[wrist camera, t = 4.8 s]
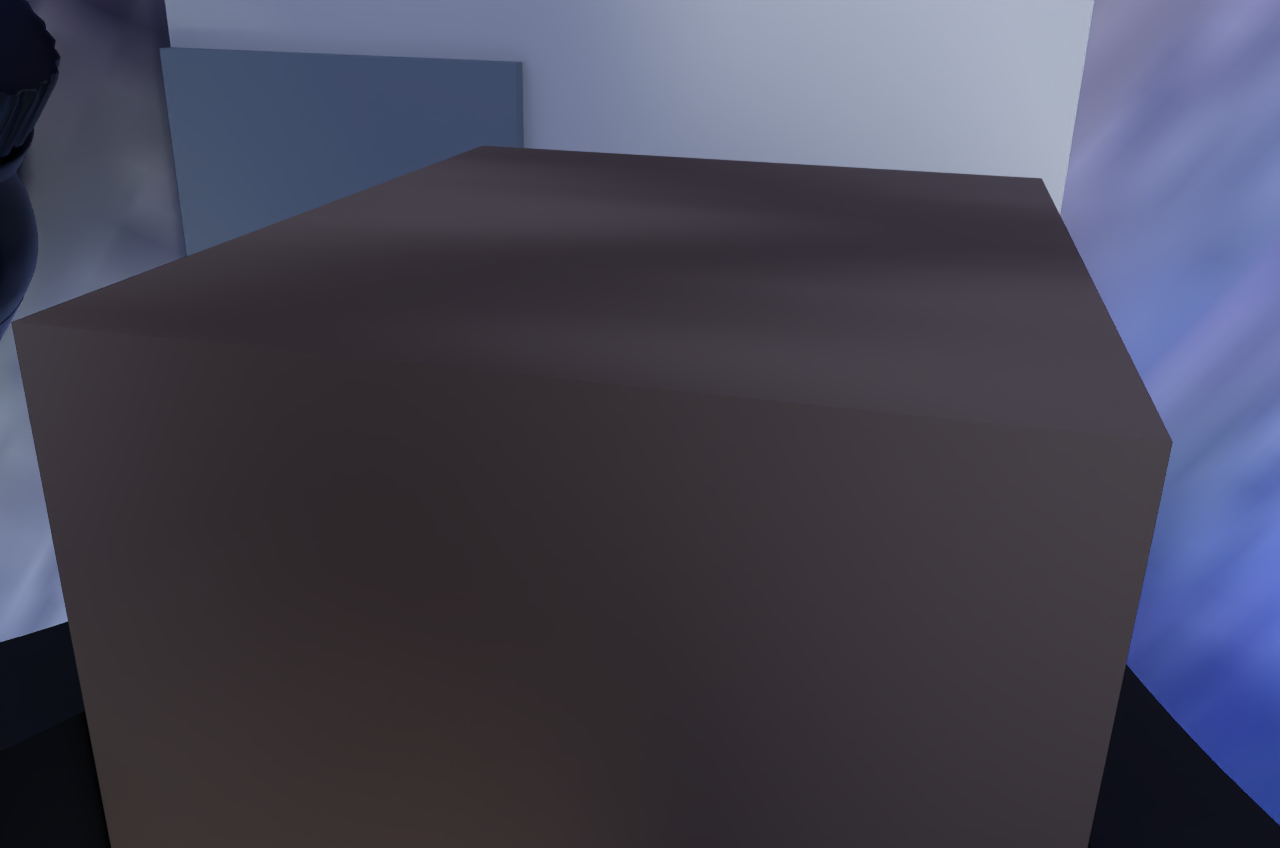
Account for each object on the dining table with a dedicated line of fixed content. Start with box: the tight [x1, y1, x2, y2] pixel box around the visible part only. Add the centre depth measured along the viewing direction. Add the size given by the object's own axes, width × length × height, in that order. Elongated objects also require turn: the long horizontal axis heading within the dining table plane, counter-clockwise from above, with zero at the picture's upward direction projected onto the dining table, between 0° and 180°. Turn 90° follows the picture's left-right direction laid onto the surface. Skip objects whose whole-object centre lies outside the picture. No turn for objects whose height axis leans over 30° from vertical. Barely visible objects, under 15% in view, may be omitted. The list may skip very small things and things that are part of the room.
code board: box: [165, 0, 1094, 214], centre depth 19 cm, size 14×11×1 cm
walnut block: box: [11, 146, 1172, 848], centre depth 9 cm, size 5×8×6 cm, turn 179°
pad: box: [159, 47, 524, 256], centre depth 19 cm, size 6×9×1 cm
